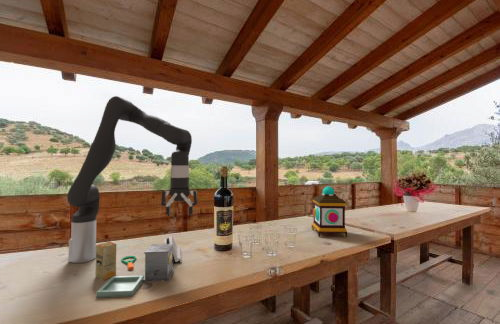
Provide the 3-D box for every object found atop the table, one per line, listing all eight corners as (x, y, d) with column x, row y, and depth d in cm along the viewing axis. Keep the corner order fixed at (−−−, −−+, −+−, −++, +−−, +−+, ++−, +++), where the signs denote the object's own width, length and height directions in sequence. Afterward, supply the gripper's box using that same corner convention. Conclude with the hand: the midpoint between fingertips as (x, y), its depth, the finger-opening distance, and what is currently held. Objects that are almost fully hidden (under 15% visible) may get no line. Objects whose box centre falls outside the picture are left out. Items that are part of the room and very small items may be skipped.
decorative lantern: (350, 238, 143) (350, 187, 144) (316, 238, 143) (317, 187, 144) (338, 229, 163) (338, 185, 164) (309, 229, 163) (309, 184, 164)
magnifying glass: (120, 259, 109) (120, 256, 109) (135, 257, 112) (135, 253, 112) (122, 272, 96) (122, 268, 96) (139, 269, 99) (139, 265, 99)
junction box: (142, 282, 88) (142, 252, 88) (150, 270, 97) (150, 244, 97) (168, 281, 89) (168, 252, 89) (174, 270, 98) (174, 243, 98)
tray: (96, 297, 77) (96, 292, 77) (112, 281, 88) (112, 276, 88) (132, 296, 78) (132, 290, 78) (143, 280, 89) (144, 275, 89)
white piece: (182, 263, 105) (174, 242, 104) (171, 268, 104) (163, 246, 103) (180, 250, 121) (173, 231, 120) (171, 254, 120) (164, 235, 119)
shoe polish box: (108, 272, 96) (109, 241, 96) (115, 275, 93) (116, 243, 93) (95, 277, 91) (95, 245, 91) (102, 280, 89) (103, 247, 89)
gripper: (159, 176, 96) (159, 217, 96) (196, 176, 98) (196, 217, 97) (164, 176, 104) (164, 214, 104) (198, 176, 105) (198, 213, 105)
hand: (179, 215), depth 100 cm, fingers open, 8 cm apart
